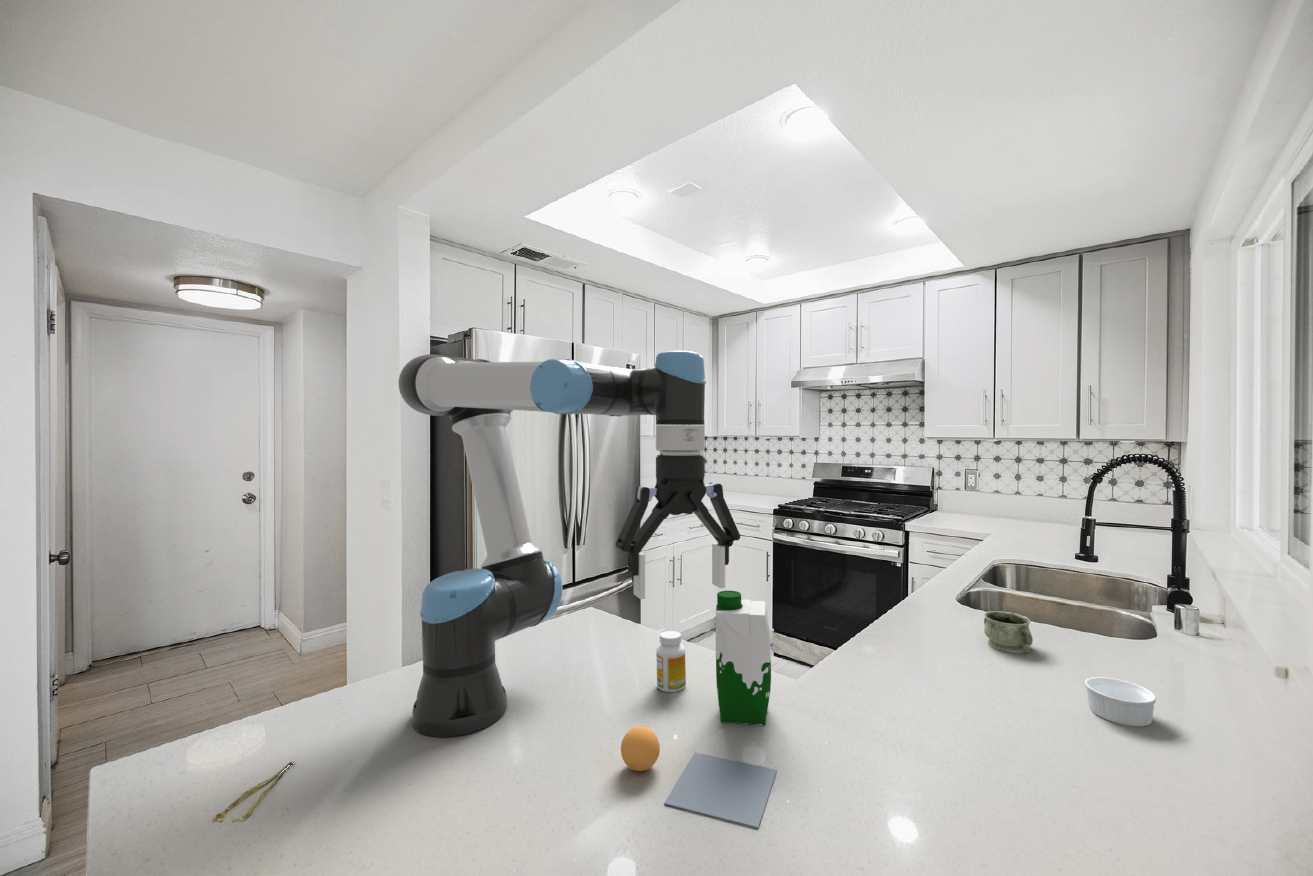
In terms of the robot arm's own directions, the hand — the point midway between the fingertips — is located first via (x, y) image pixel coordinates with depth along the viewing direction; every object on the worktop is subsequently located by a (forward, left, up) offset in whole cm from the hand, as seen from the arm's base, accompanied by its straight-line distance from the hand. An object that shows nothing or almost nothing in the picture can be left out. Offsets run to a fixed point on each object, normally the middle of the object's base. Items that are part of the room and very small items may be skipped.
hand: (680, 591), depth 85 cm
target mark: (+9, -9, -23) cm, 26 cm away
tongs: (-49, -32, -24) cm, 63 cm away
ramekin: (+64, +32, -23) cm, 75 cm away
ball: (-3, -9, -20) cm, 22 cm away
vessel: (+53, +59, -23) cm, 82 cm away
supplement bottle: (-8, +16, -23) cm, 29 cm away
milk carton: (+7, +11, -23) cm, 26 cm away
